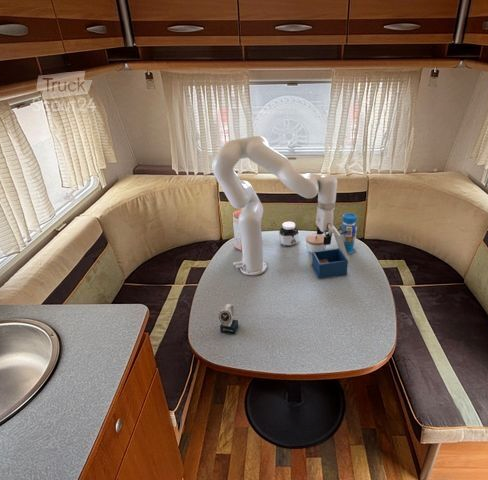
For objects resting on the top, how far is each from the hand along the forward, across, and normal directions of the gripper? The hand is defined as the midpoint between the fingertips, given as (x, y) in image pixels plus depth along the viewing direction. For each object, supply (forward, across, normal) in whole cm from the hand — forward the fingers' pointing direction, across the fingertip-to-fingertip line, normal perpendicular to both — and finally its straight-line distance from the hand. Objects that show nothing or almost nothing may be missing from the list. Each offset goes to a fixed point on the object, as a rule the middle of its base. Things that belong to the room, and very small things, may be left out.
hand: (323, 239), depth 162 cm
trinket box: (+18, -18, +3) cm, 25 cm away
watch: (+19, +29, -46) cm, 58 cm away
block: (+17, 0, +1) cm, 17 cm away
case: (+17, 0, +4) cm, 18 cm away
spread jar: (+18, -31, -8) cm, 37 cm away
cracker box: (+19, -33, -30) cm, 48 cm away
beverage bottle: (+17, -15, +19) cm, 30 cm away
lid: (+2, 0, +8) cm, 8 cm away
